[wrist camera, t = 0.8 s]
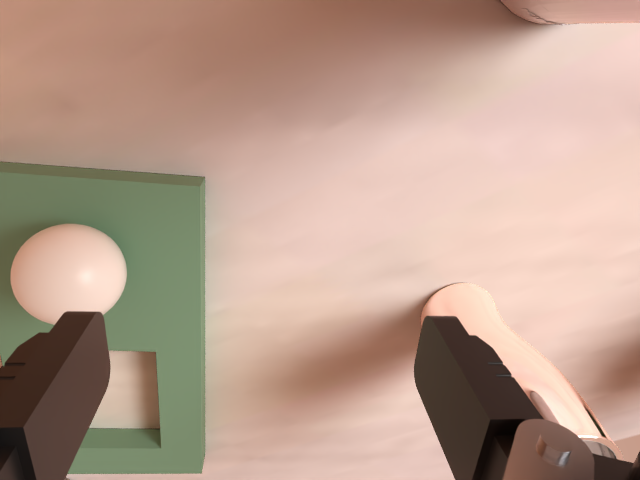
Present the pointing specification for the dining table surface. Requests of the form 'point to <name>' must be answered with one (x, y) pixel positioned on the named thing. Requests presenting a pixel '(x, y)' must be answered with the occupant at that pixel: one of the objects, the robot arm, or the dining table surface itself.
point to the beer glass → (523, 364)
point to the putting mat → (125, 296)
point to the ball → (68, 272)
